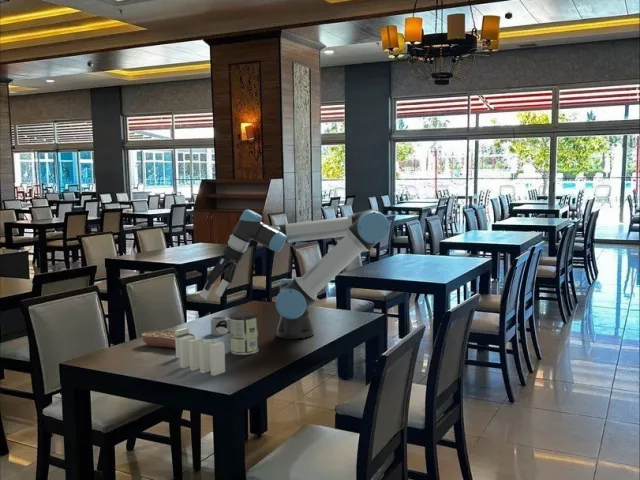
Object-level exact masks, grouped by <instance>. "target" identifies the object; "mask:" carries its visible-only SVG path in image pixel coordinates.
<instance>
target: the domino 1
mask: <svg viewBox="0 0 640 480" xmlns="http://www.w3.org/2000/svg"><path fill="white" fill-rule="evenodd" d="M174 331H175V344H176V349H175V358H176V359H180V347H179V339H181V338H184V337H188V336H189V334H190V332H189V328H188V327H184V328H181V329H176V330H174Z"/></svg>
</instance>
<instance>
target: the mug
mask: <svg viewBox="0 0 640 480" xmlns="http://www.w3.org/2000/svg"><path fill="white" fill-rule="evenodd" d="M228 322H230V317H227V316H219V315H218V316H213V317H211V318H210V326H211V328H210V331H211V332H210V333H211V334H210V335H211V336H213V337H214V336H215V337H216V336H217V337H222V336H227V335H228V332H230V326H229V327H228Z"/></svg>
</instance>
